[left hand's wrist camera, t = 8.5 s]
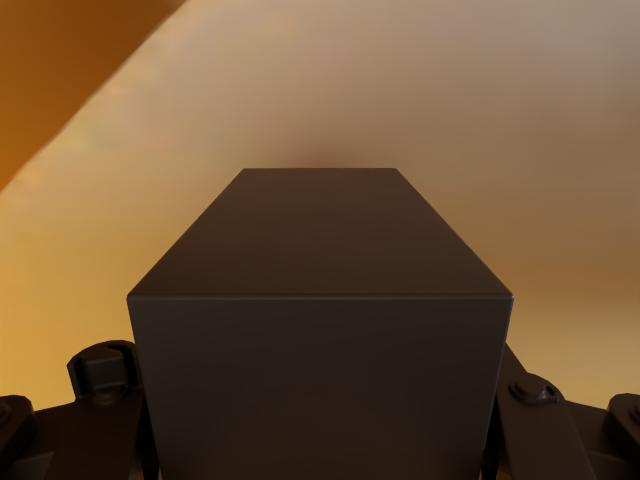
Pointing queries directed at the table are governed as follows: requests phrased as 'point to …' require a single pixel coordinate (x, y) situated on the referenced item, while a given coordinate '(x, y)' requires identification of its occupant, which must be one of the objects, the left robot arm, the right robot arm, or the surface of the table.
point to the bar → (320, 335)
